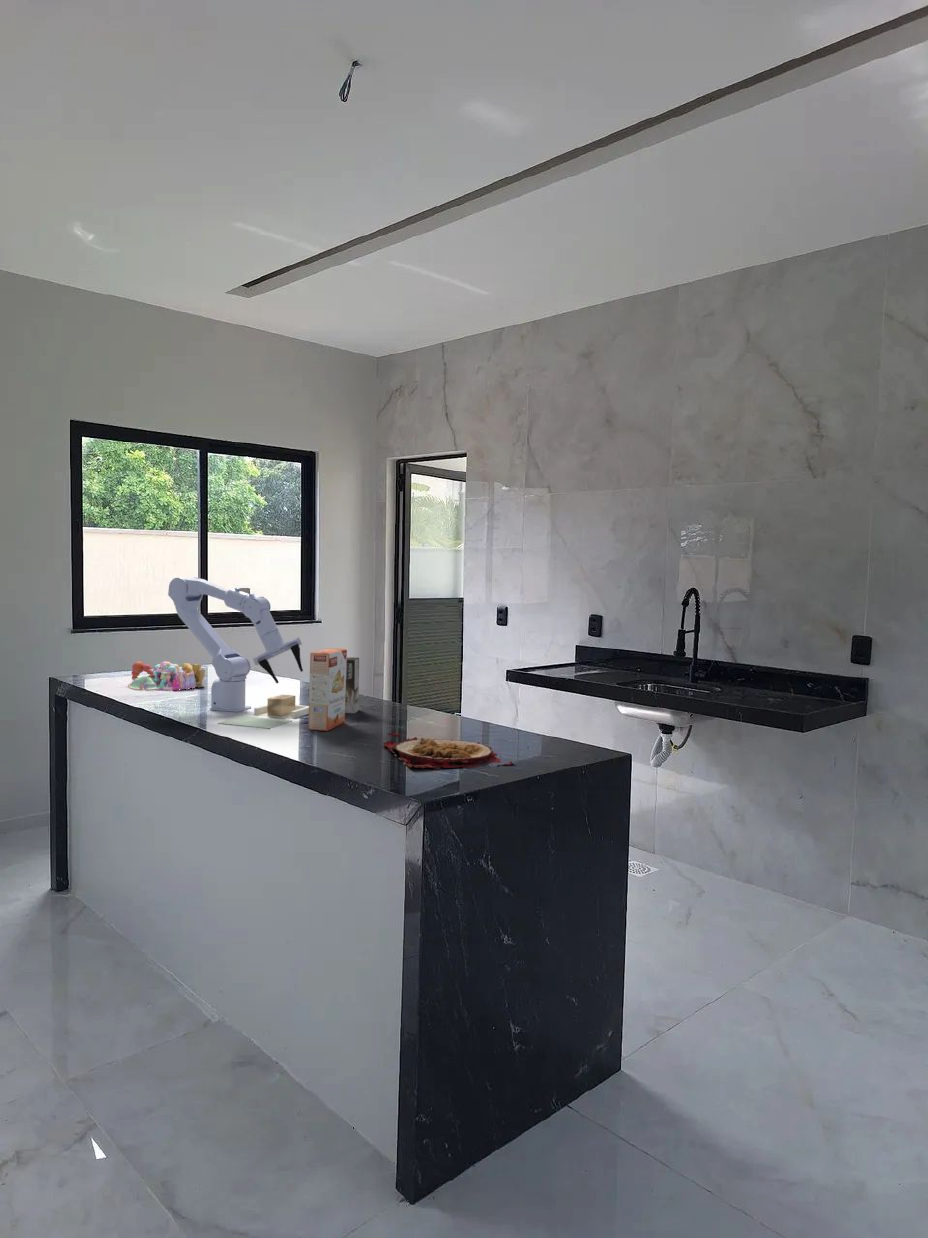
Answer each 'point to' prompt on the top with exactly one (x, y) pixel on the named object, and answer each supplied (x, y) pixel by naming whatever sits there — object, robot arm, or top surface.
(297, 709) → the shelf slot
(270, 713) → the oak block
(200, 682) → the candy landscape model
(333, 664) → the cracker box
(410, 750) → the plate with food
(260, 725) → the stand mat
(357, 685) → the coffee box
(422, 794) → the top surface
